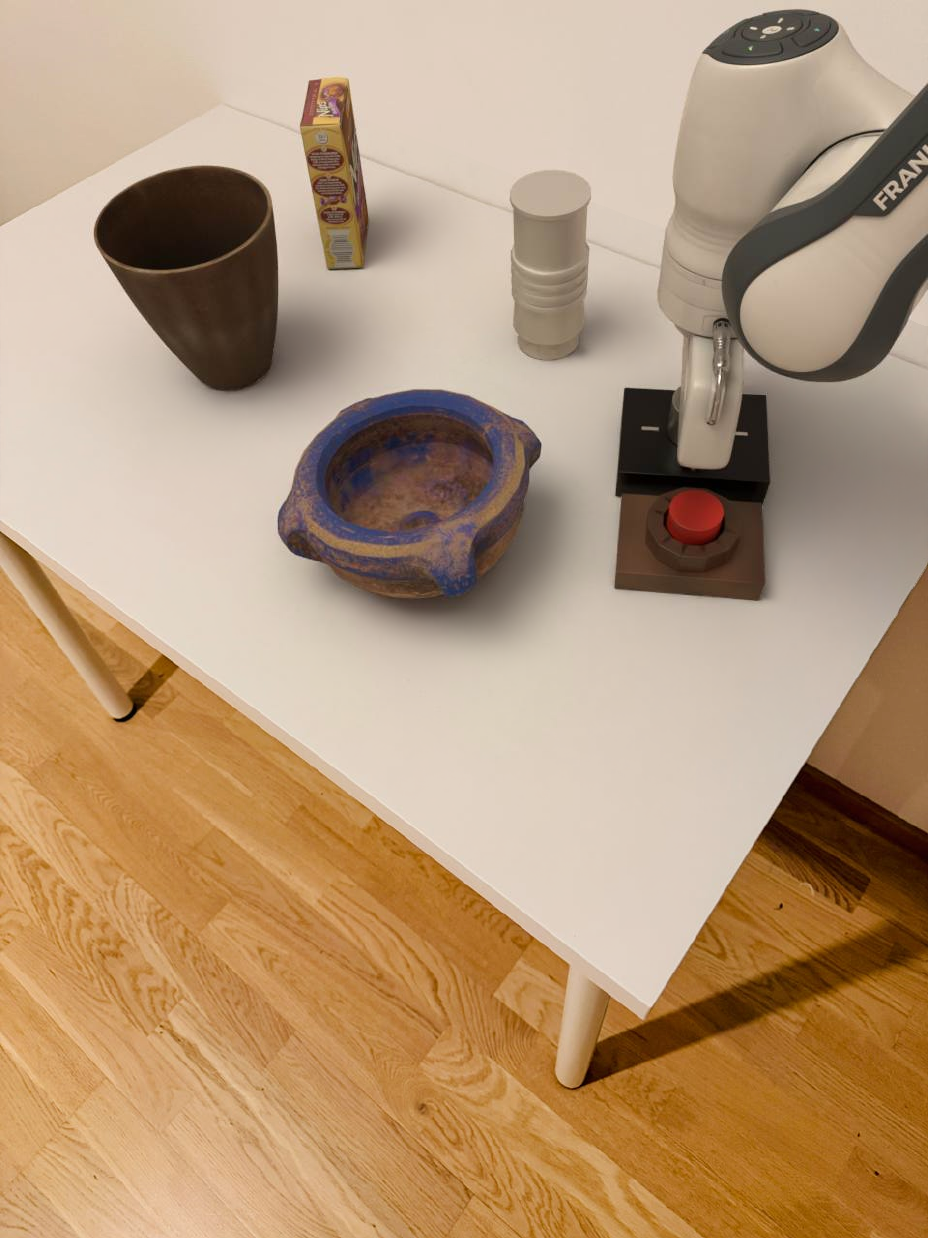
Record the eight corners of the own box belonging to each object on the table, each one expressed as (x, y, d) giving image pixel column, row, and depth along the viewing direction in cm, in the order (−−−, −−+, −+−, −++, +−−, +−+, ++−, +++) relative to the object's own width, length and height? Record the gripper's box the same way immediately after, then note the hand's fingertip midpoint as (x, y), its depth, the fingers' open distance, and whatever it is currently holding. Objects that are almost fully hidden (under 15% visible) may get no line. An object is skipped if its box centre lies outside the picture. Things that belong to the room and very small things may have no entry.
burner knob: (668, 411, 77) (674, 376, 73) (722, 415, 76) (729, 380, 73) (665, 448, 74) (671, 414, 71) (720, 453, 74) (728, 418, 70)
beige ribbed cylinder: (596, 351, 86) (606, 203, 73) (528, 371, 85) (526, 224, 73) (568, 308, 90) (573, 161, 77) (502, 327, 89) (497, 181, 76)
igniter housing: (756, 520, 73) (767, 486, 70) (759, 600, 69) (770, 569, 66) (620, 510, 75) (623, 477, 72) (614, 588, 71) (617, 557, 67)
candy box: (367, 268, 96) (340, 123, 83) (327, 271, 96) (294, 126, 83) (372, 219, 101) (348, 74, 88) (334, 221, 101) (305, 77, 88)
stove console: (759, 420, 79) (767, 392, 77) (762, 506, 74) (771, 480, 71) (621, 412, 81) (624, 385, 79) (614, 496, 76) (617, 470, 73)
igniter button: (720, 506, 70) (723, 491, 68) (720, 547, 68) (724, 532, 66) (667, 503, 70) (670, 487, 69) (665, 543, 68) (668, 528, 67)
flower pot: (342, 348, 89) (308, 195, 75) (238, 442, 82) (180, 292, 69) (234, 299, 94) (184, 147, 81) (128, 383, 88) (55, 234, 75)
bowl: (376, 440, 81) (358, 351, 73) (562, 497, 76) (565, 408, 68) (270, 590, 73) (236, 509, 64) (472, 666, 67) (463, 587, 59)
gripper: (773, 383, 57) (734, 524, 68) (768, 196, 68) (735, 344, 79) (671, 377, 58) (649, 517, 69) (683, 193, 69) (662, 340, 80)
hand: (695, 423), depth 74 cm, fingers closed on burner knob, 4 cm apart
